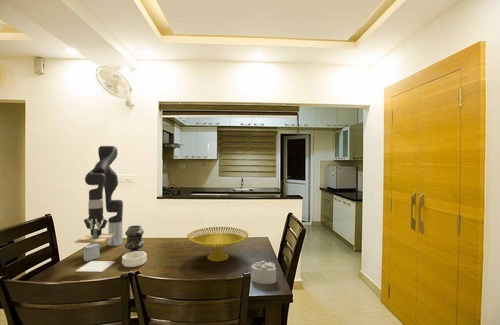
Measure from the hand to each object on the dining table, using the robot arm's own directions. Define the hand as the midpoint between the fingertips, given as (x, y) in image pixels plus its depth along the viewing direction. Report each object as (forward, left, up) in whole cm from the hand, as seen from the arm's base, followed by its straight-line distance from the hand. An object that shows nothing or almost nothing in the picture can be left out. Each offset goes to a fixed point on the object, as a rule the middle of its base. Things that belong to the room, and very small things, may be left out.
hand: (96, 235), depth 154 cm
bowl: (-6, +20, -19) cm, 28 cm away
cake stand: (-18, +70, -19) cm, 75 cm away
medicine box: (-11, -10, -19) cm, 24 cm away
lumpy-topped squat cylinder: (+12, +99, -19) cm, 102 cm away
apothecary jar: (-23, +12, -19) cm, 32 cm away
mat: (0, 0, -19) cm, 19 cm away
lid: (0, 0, -2) cm, 2 cm away
